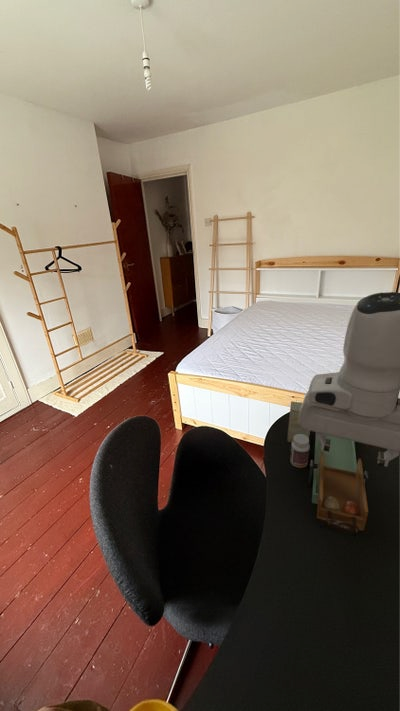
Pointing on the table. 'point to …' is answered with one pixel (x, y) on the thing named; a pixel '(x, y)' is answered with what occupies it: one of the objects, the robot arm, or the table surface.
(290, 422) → the cosmetic box
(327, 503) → the cream ball
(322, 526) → the cradle
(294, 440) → the pill bottle
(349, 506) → the terracotta ball
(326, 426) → the robot arm
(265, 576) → the table surface
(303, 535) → the table surface
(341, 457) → the tray
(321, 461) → the open cardboard crate
